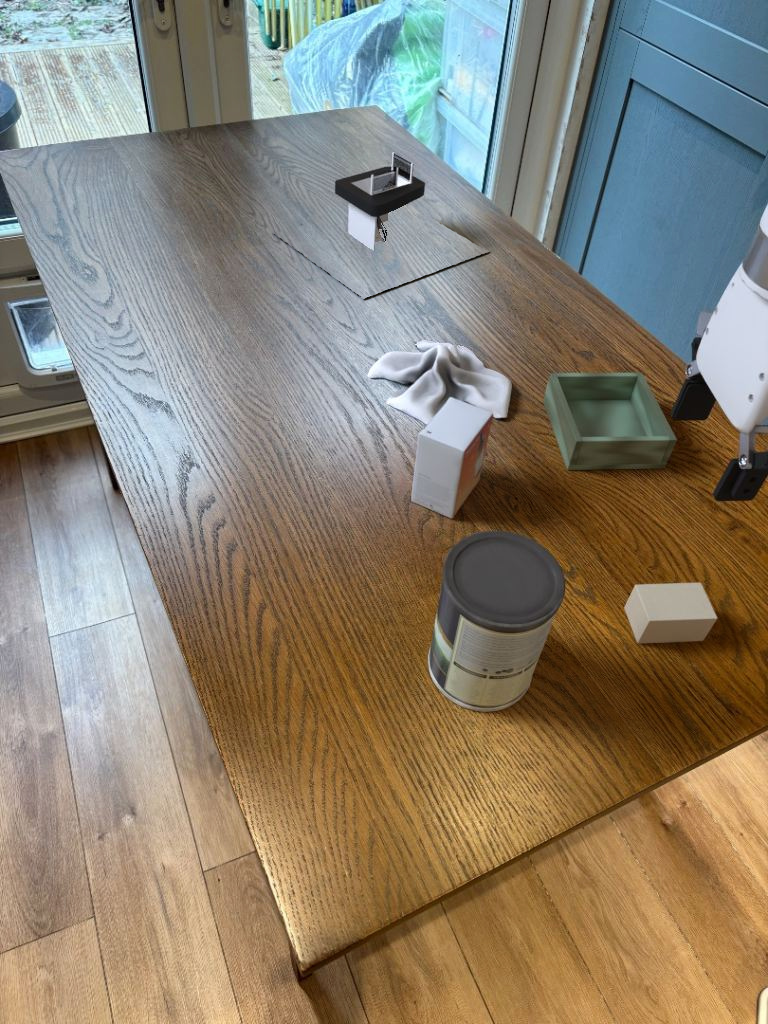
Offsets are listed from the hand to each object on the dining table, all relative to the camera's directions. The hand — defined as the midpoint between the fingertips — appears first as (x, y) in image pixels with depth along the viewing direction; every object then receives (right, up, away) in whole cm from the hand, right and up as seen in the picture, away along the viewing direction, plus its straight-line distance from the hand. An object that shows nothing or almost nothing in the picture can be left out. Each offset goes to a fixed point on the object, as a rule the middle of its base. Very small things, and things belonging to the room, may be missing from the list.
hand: (708, 456), depth 62 cm
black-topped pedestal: (-27, +42, +69) cm, 85 cm away
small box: (-19, -2, +28) cm, 34 cm away
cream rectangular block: (+2, -16, +16) cm, 23 cm away
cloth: (-19, +14, +43) cm, 49 cm away
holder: (+2, +6, +36) cm, 37 cm away
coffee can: (-17, -20, +11) cm, 29 cm away
